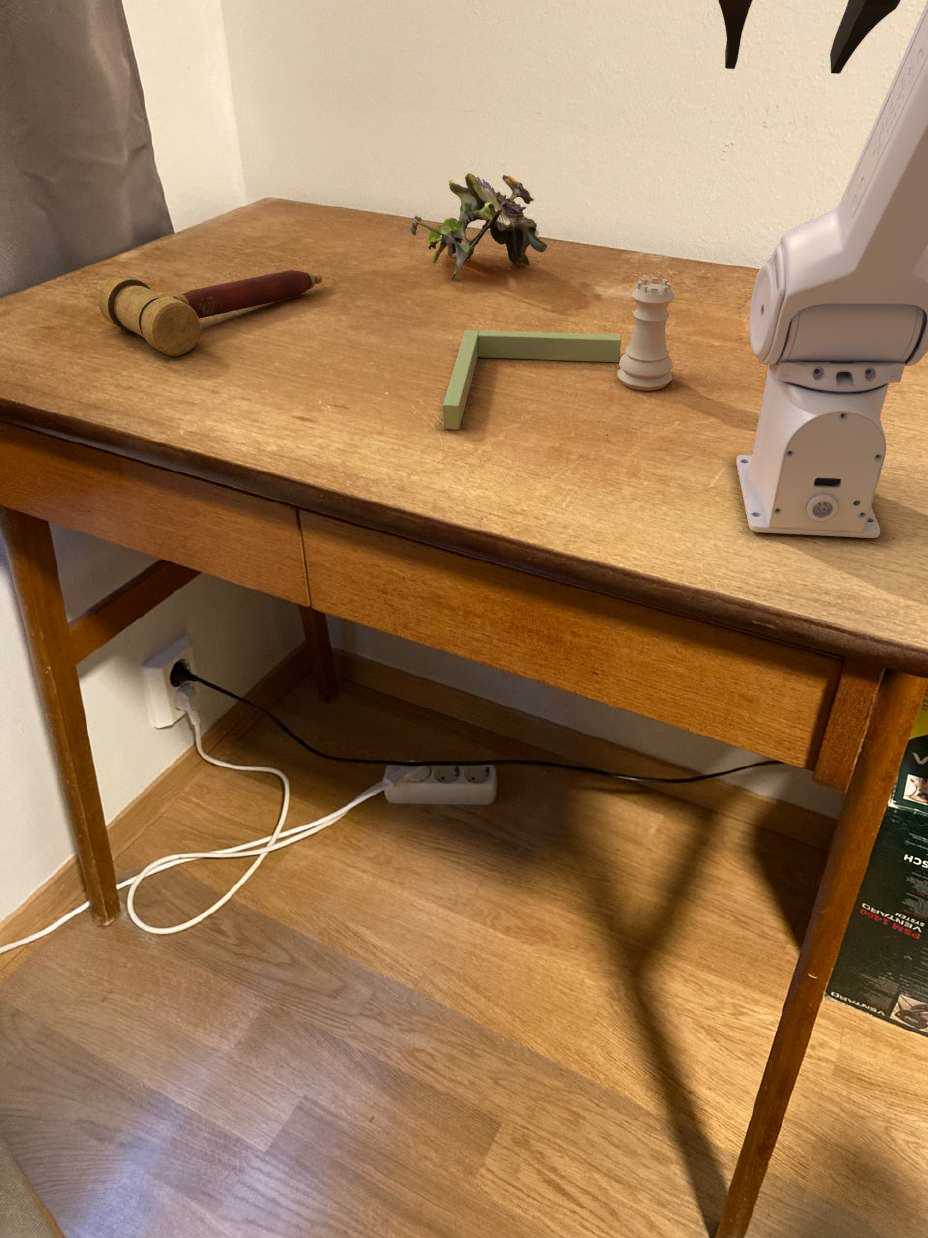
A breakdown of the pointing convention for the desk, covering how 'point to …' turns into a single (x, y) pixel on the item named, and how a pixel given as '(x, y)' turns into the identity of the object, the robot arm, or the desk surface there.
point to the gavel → (191, 305)
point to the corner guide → (519, 357)
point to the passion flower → (498, 215)
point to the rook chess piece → (648, 339)
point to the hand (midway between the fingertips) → (782, 61)
